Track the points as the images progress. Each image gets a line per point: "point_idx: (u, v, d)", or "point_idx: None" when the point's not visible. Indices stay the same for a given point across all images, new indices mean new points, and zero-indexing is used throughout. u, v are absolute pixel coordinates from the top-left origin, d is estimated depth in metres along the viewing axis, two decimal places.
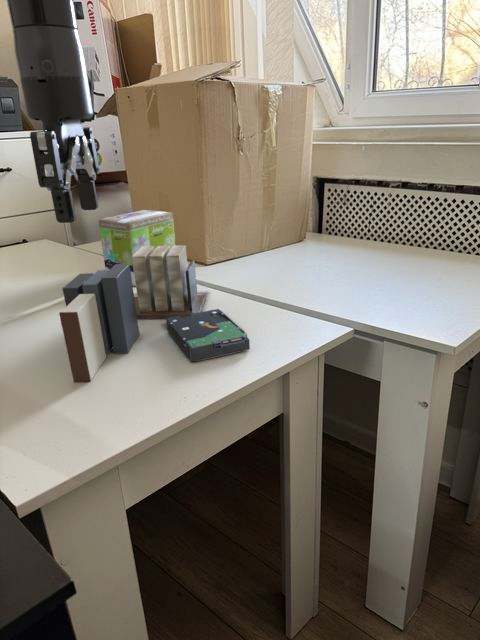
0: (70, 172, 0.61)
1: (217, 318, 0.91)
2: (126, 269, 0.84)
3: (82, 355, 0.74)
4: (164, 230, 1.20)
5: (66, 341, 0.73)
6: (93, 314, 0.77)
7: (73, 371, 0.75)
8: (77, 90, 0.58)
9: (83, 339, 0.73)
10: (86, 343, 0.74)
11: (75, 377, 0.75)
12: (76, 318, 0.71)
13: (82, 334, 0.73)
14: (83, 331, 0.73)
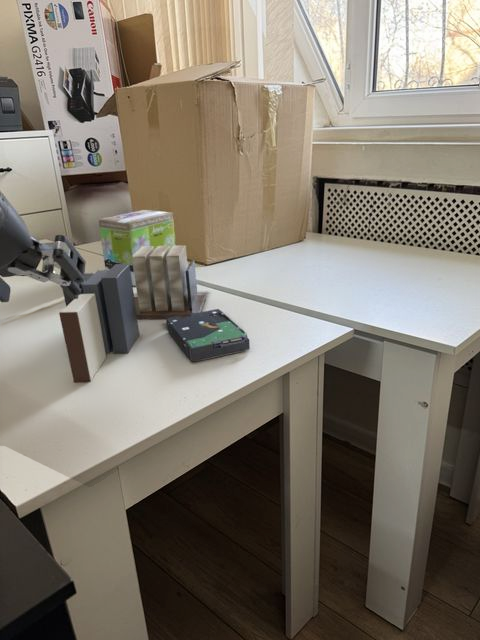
0: None
1: (217, 318, 0.91)
2: (126, 269, 0.84)
3: (82, 355, 0.74)
4: (164, 230, 1.20)
5: (66, 341, 0.73)
6: (93, 314, 0.77)
7: (73, 371, 0.75)
8: None
9: (83, 339, 0.73)
10: (86, 343, 0.74)
11: (75, 377, 0.75)
12: (76, 318, 0.71)
13: (82, 334, 0.73)
14: (83, 331, 0.73)
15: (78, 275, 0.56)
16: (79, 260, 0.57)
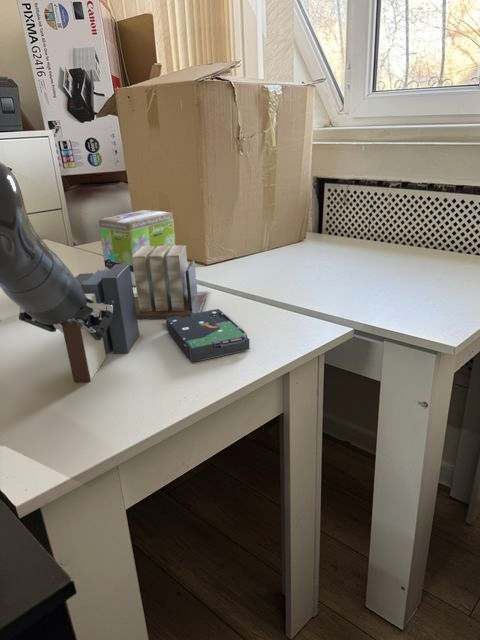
0: None
1: (217, 318, 0.91)
2: (126, 269, 0.84)
3: (82, 355, 0.74)
4: (164, 230, 1.20)
5: (66, 341, 0.73)
6: None
7: (73, 371, 0.75)
8: (27, 313, 0.63)
9: (83, 339, 0.73)
10: (86, 343, 0.74)
11: (75, 377, 0.75)
12: None
13: (82, 334, 0.73)
14: (83, 331, 0.73)
15: (106, 327, 0.73)
16: None
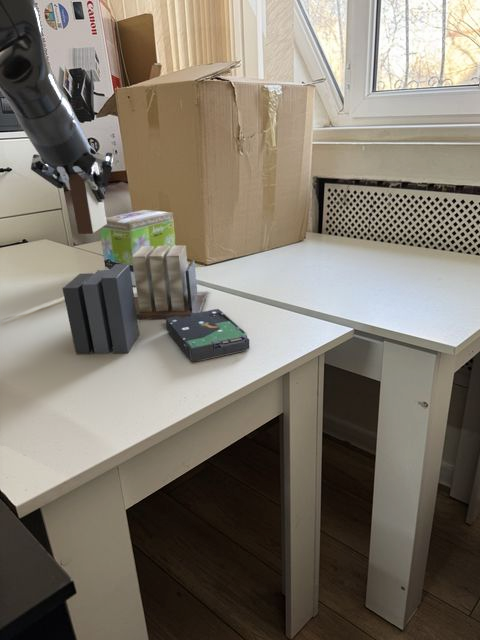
0: (68, 182, 0.83)
1: (216, 318, 0.91)
2: (126, 269, 0.84)
3: (86, 207, 0.84)
4: (164, 230, 1.20)
5: (72, 193, 0.83)
6: None
7: (78, 223, 0.85)
8: (39, 150, 0.74)
9: (86, 192, 0.83)
10: (89, 198, 0.85)
11: (79, 229, 0.85)
12: None
13: (86, 187, 0.83)
14: (87, 185, 0.84)
15: (107, 182, 0.83)
16: None
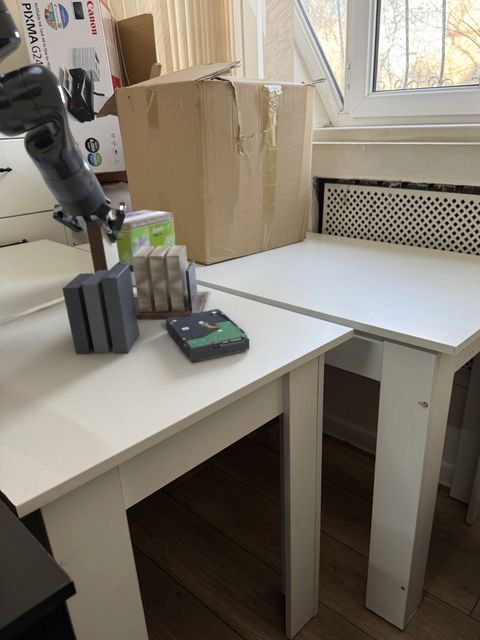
0: (86, 227, 0.93)
1: (216, 318, 0.91)
2: (126, 269, 0.84)
3: (101, 249, 0.93)
4: (164, 230, 1.20)
5: (89, 237, 0.92)
6: None
7: (94, 263, 0.95)
8: (62, 204, 0.83)
9: (102, 236, 0.93)
10: (104, 241, 0.94)
11: (96, 269, 0.95)
12: None
13: (101, 232, 0.93)
14: (102, 230, 0.93)
15: (120, 227, 0.93)
16: None
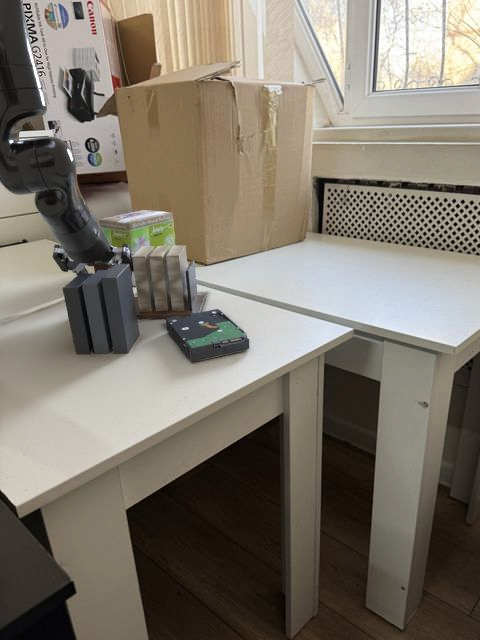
0: None
1: (216, 318, 0.91)
2: (126, 269, 0.84)
3: None
4: (164, 230, 1.20)
5: None
6: None
7: None
8: (68, 253, 0.87)
9: None
10: None
11: None
12: None
13: None
14: None
15: None
16: None
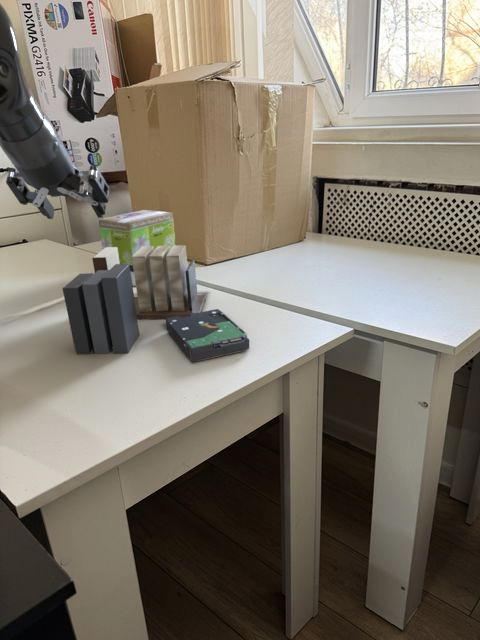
0: None
1: (216, 318, 0.91)
2: (126, 269, 0.84)
3: None
4: (164, 230, 1.20)
5: None
6: (116, 262, 1.00)
7: None
8: (21, 172, 0.71)
9: None
10: None
11: None
12: (105, 262, 0.94)
13: None
14: None
15: (104, 196, 0.80)
16: (105, 186, 0.80)
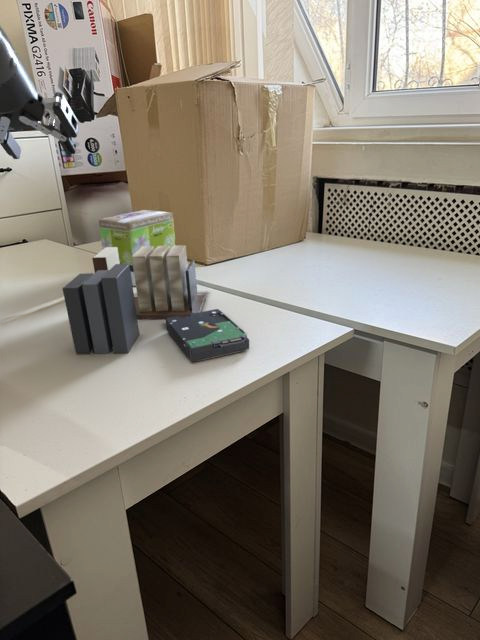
0: None
1: (216, 318, 0.91)
2: (126, 269, 0.84)
3: None
4: (164, 230, 1.20)
5: None
6: (116, 262, 1.00)
7: None
8: None
9: None
10: None
11: None
12: (105, 262, 0.94)
13: None
14: None
15: (72, 129, 0.73)
16: (73, 119, 0.74)
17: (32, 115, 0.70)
